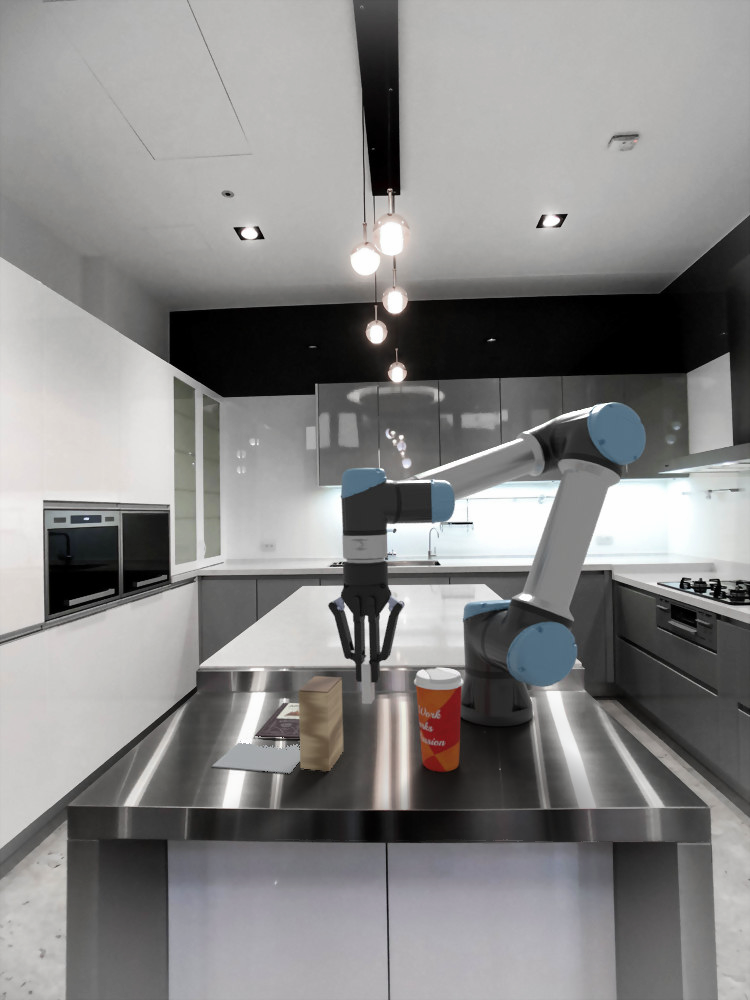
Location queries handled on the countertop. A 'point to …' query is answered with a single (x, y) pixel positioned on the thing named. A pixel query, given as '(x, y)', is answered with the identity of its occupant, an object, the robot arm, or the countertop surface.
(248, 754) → the felt mat
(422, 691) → the coffee cup
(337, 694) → the oak block
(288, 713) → the chocolate bar
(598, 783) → the countertop surface
